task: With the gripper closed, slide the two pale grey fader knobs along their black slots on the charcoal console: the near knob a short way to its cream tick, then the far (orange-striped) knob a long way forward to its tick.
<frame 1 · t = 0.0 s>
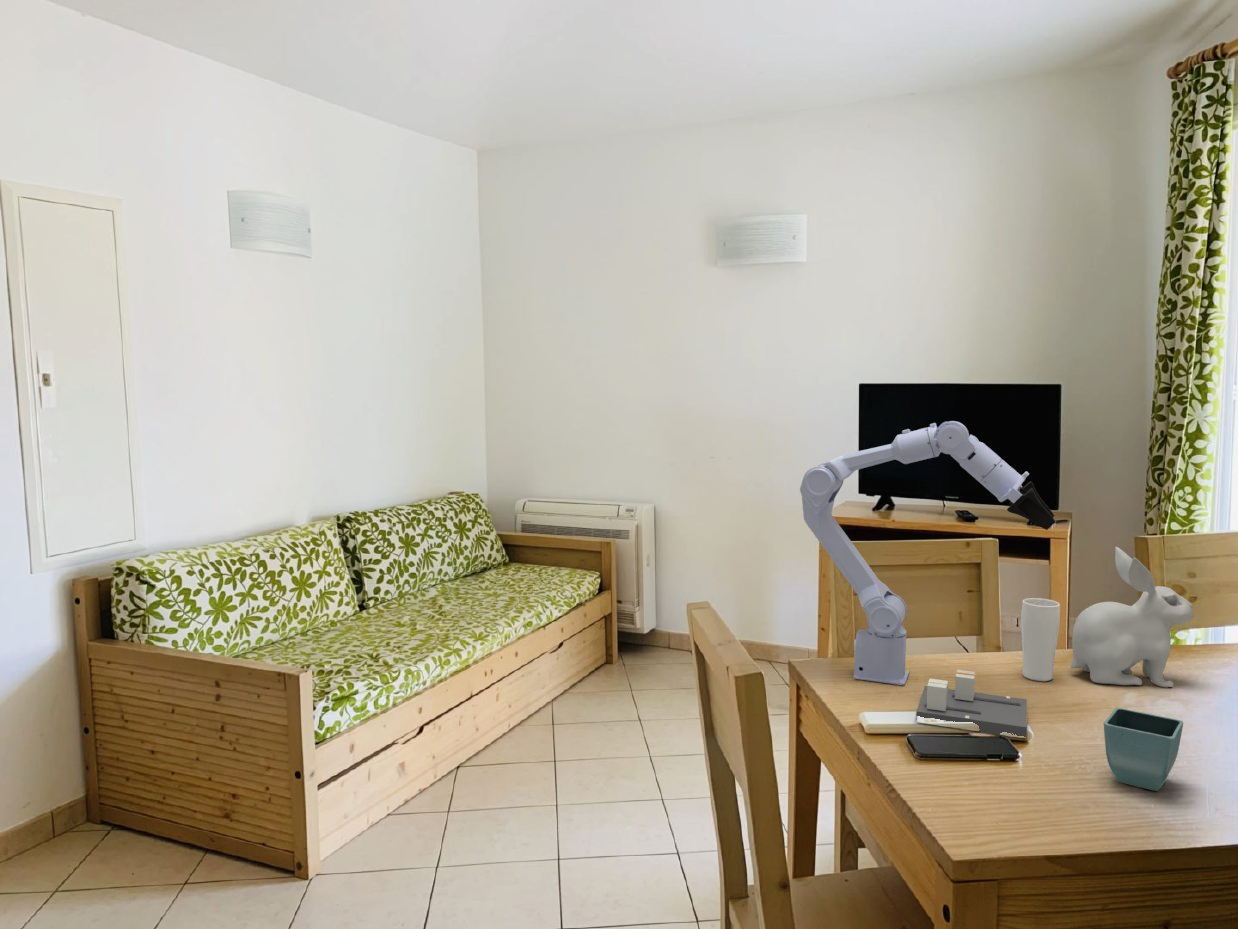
hand: (1050, 522, 161), 32 cm above the table, tool tilted 50°, fingers open, 7 cm apart
rabbit: (1128, 681, 175), on the table
drinking glass: (1037, 678, 176), on the table
console: (972, 716, 155), on the table
near fader knob: (937, 694, 154), point 4 cm above the table, slide at 0.0 cm
flower pot: (1140, 783, 130), on the table
far fader knob: (965, 684, 159), point 4 cm above the table, slide at 0.0 cm
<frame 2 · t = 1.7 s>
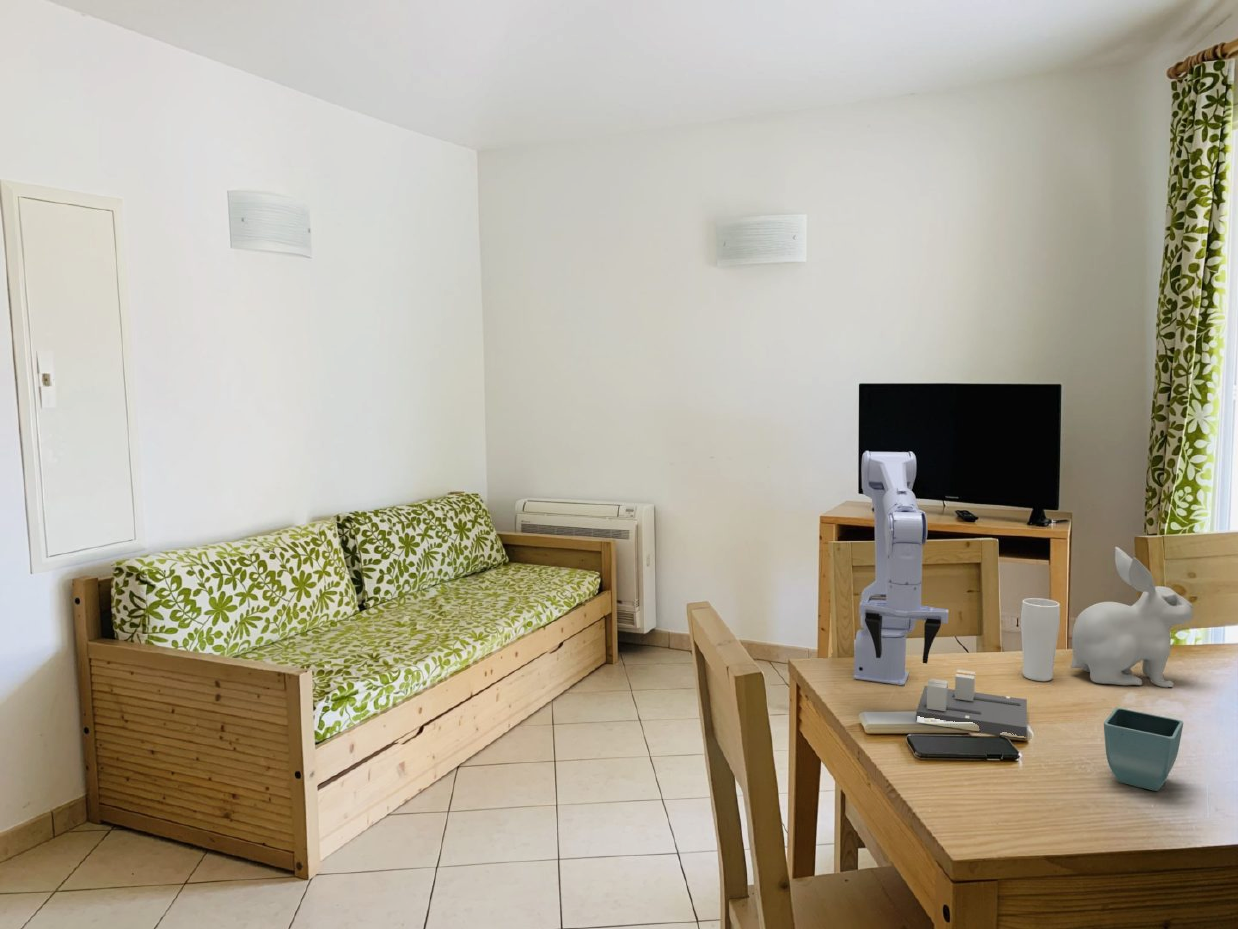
hand: (901, 659, 156), 10 cm above the table, tool pointing down, fingers open, 7 cm apart
nothing on the table moved.
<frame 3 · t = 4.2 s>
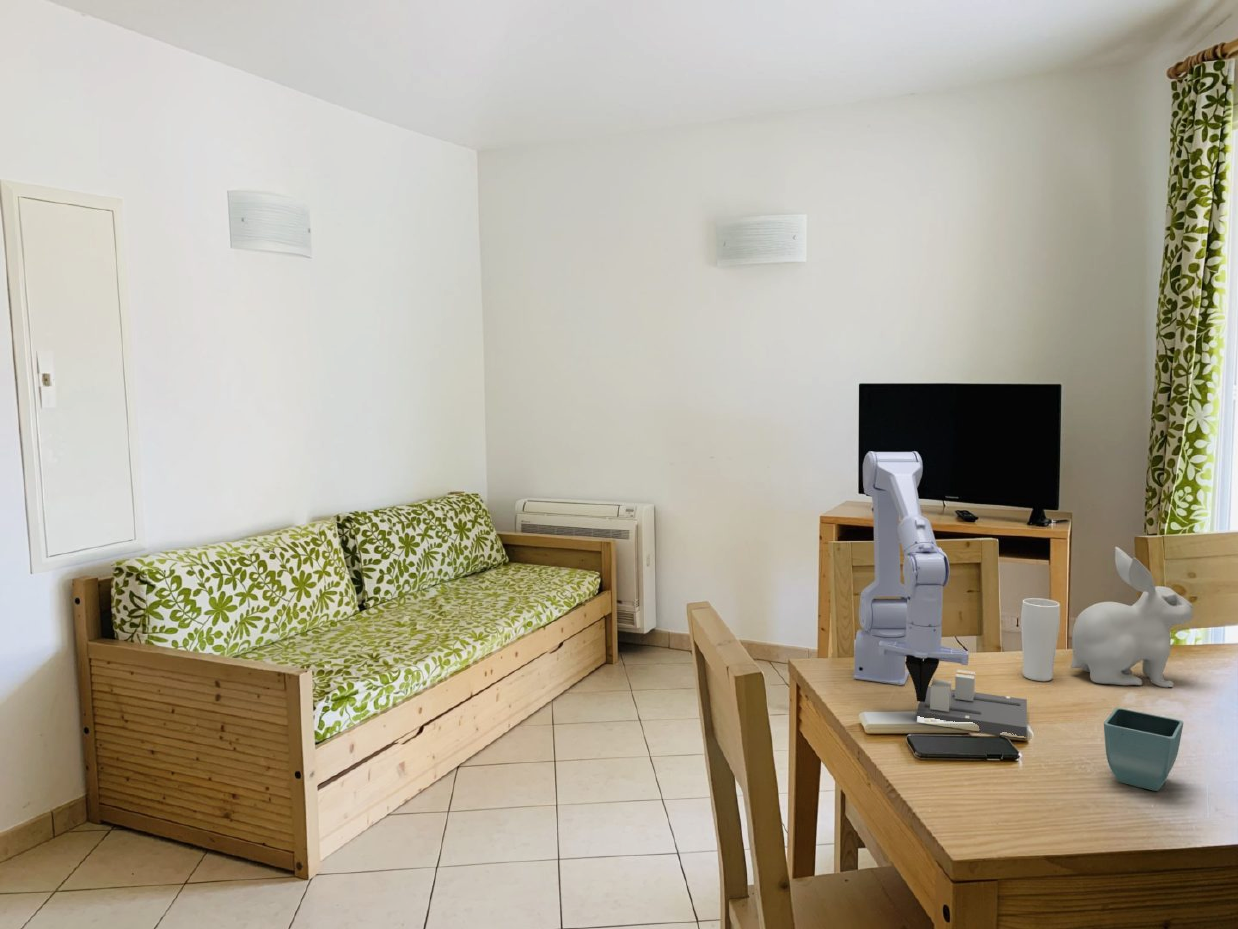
hand: (921, 699, 155), 3 cm above the table, tool pointing down, fingers closed
near fader knob: (940, 694, 154), point 4 cm above the table, slide at 0.6 cm, touching gripper
everything else where it was.
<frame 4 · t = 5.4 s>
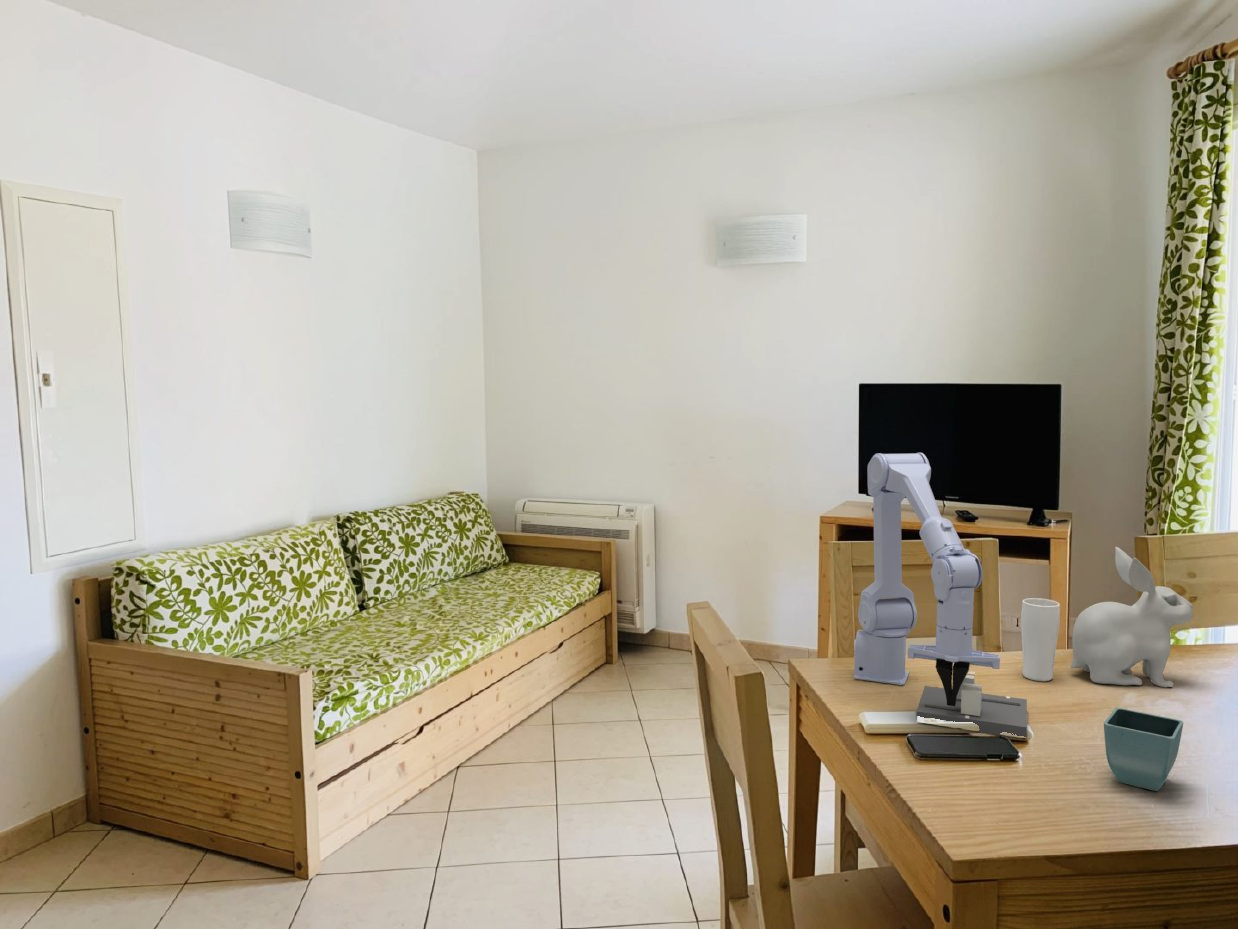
hand: (951, 704, 153), 3 cm above the table, tool pointing down, fingers closed
near fader knob: (971, 698, 152), point 4 cm above the table, slide at 5.4 cm, touching gripper
everything else where it was.
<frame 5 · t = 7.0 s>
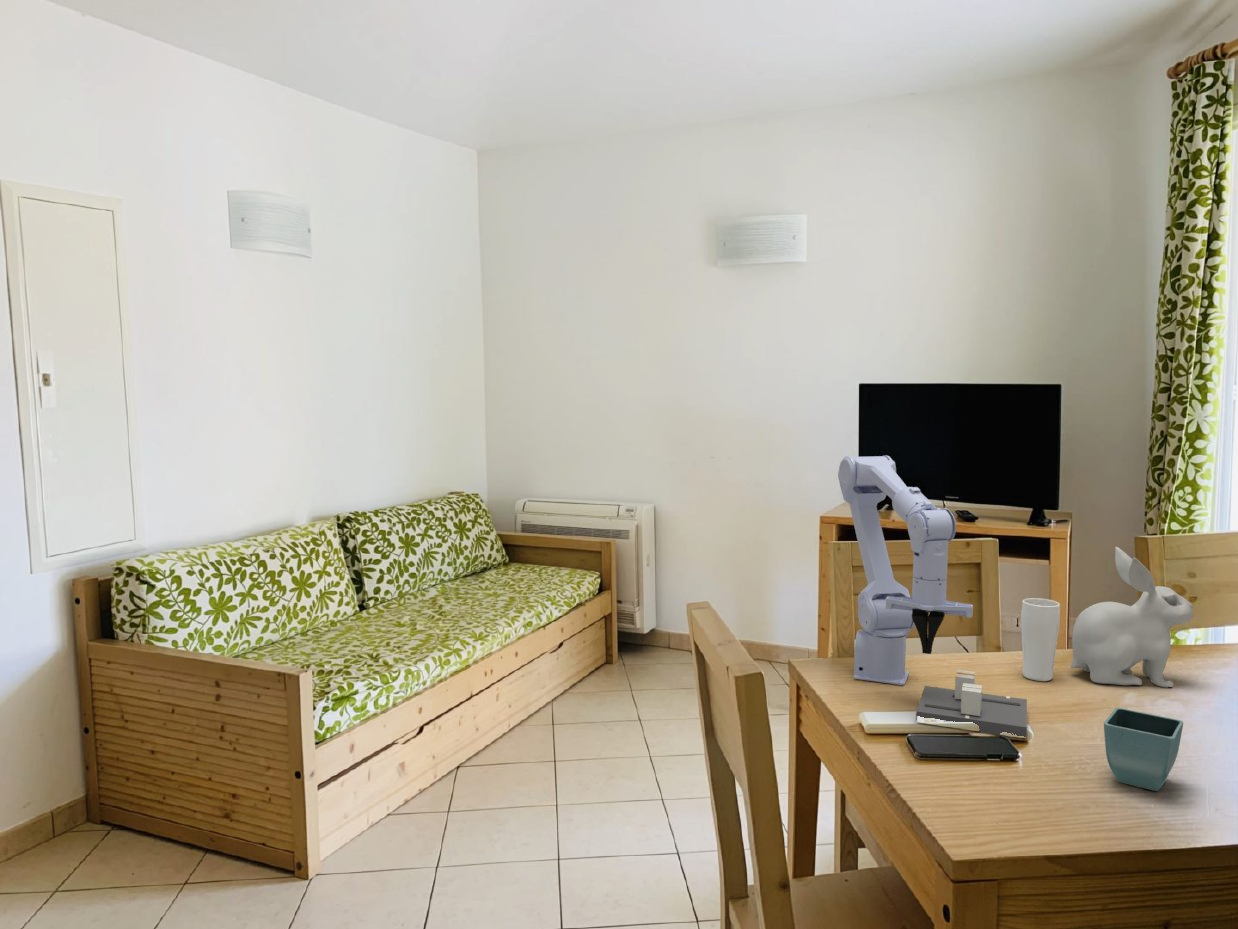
hand: (927, 652, 161), 9 cm above the table, tool pointing down, fingers closed
near fader knob: (971, 698, 152), point 4 cm above the table, slide at 5.4 cm
everything else where it was.
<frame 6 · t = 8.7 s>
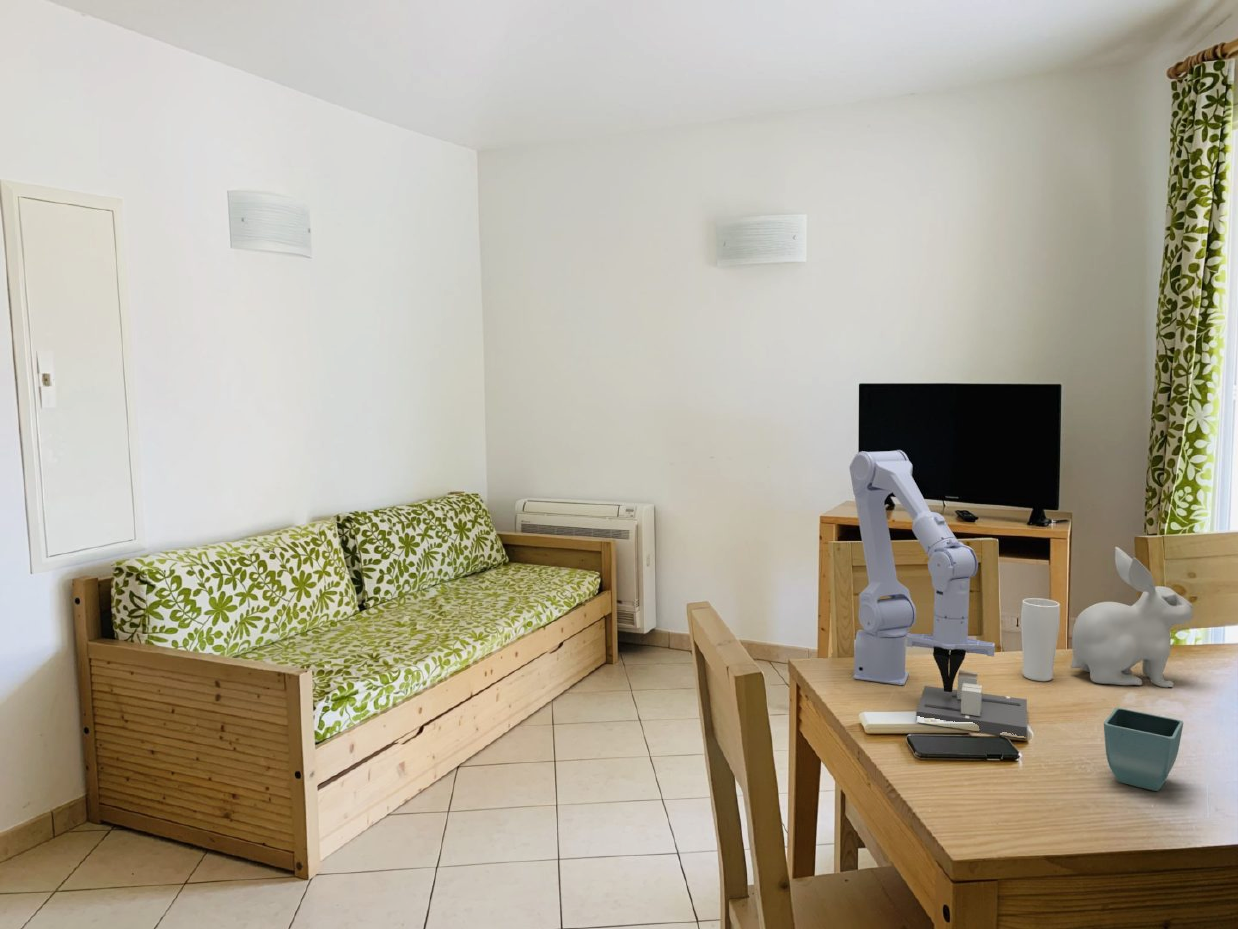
hand: (948, 690, 160), 3 cm above the table, tool pointing down, fingers closed
far fader knob: (967, 685, 159), point 4 cm above the table, slide at 0.4 cm, touching gripper
everything else where it was.
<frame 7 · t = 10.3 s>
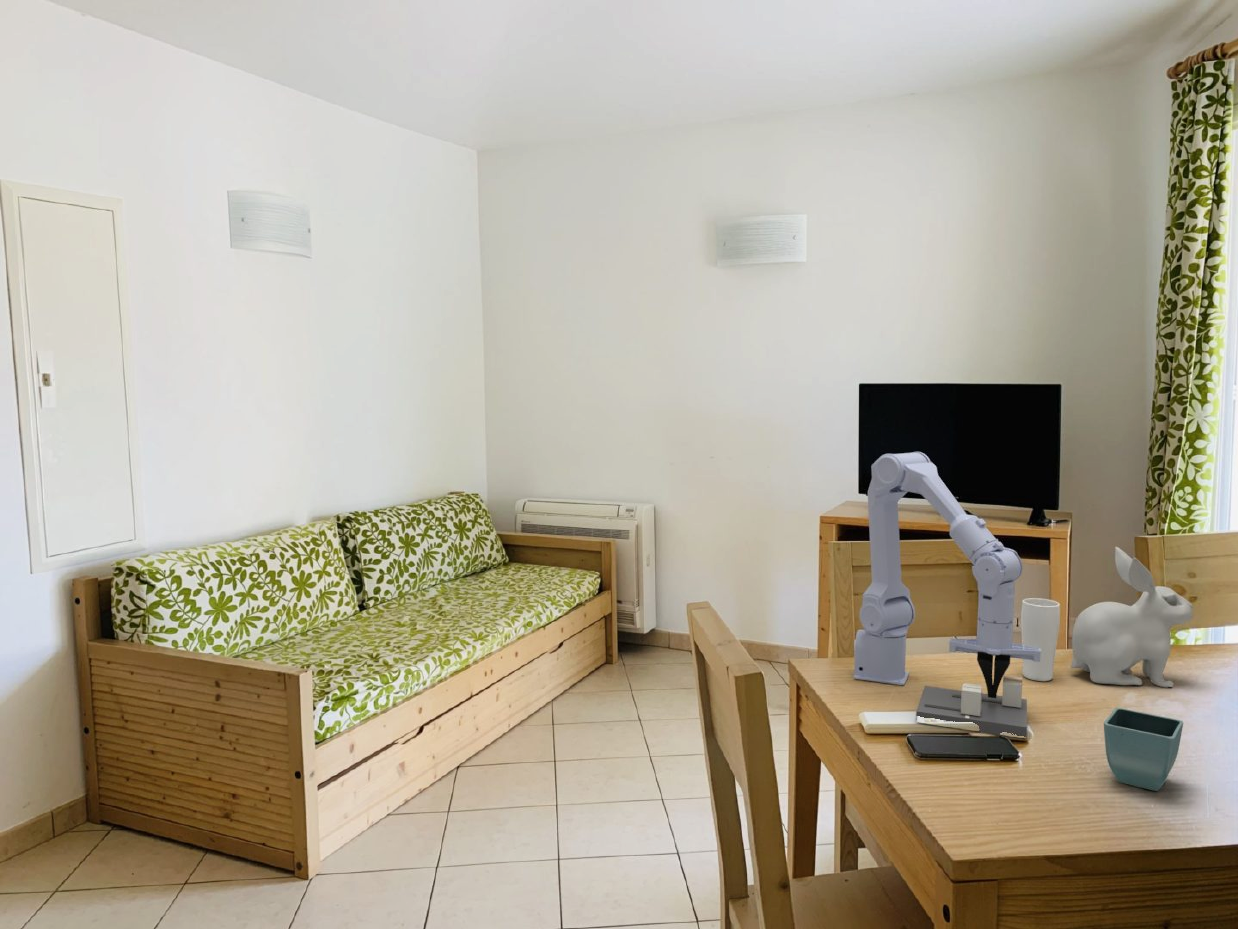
hand: (992, 696, 157), 3 cm above the table, tool pointing down, fingers closed
far fader knob: (1012, 691, 156), point 4 cm above the table, slide at 7.6 cm, touching gripper
everything else where it was.
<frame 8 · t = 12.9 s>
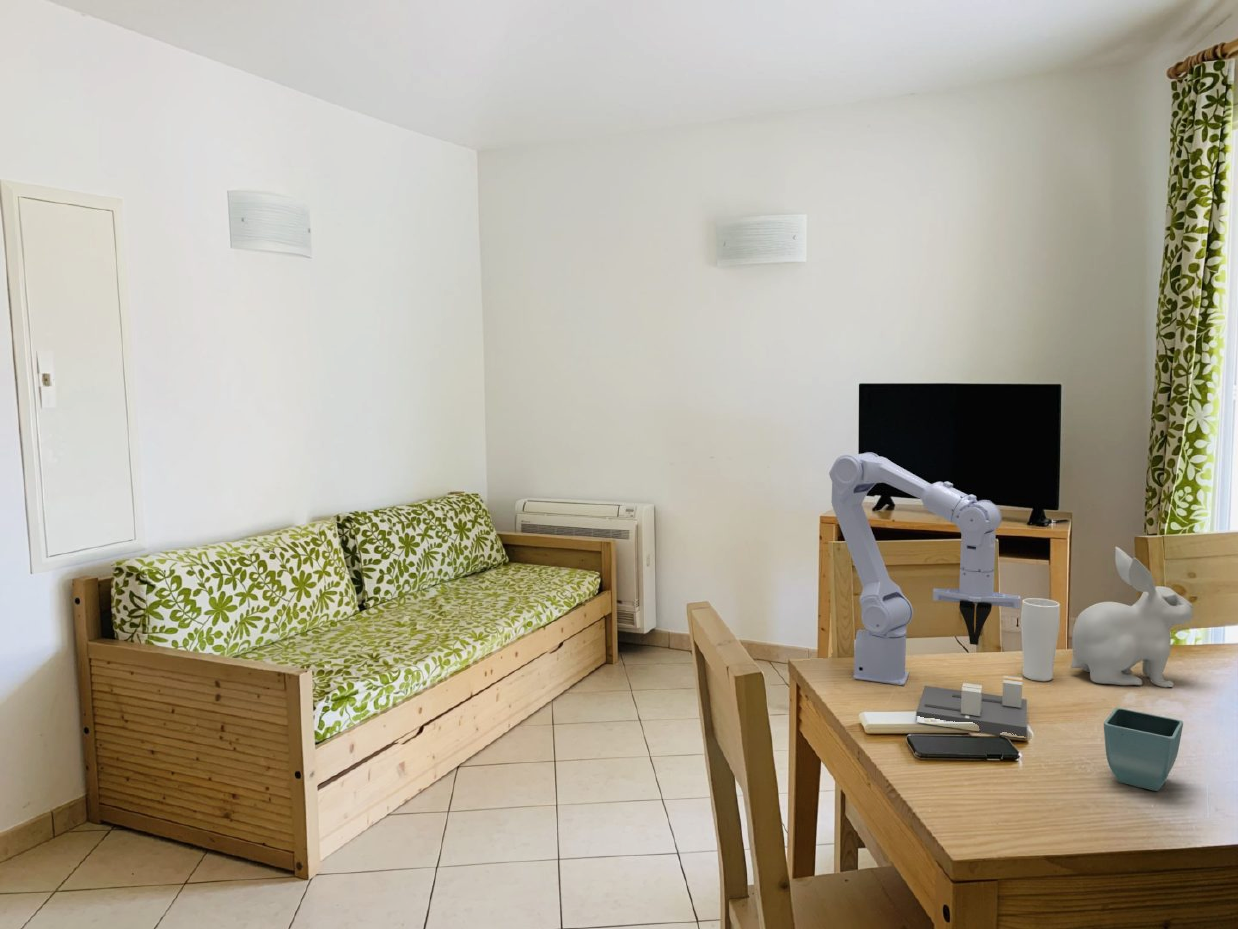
hand: (974, 643, 163), 10 cm above the table, tool pointing down, fingers closed
far fader knob: (1012, 691, 156), point 4 cm above the table, slide at 7.6 cm
everything else where it was.
at the end: far fader knob slide at 7.6 cm; near fader knob slide at 5.4 cm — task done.
